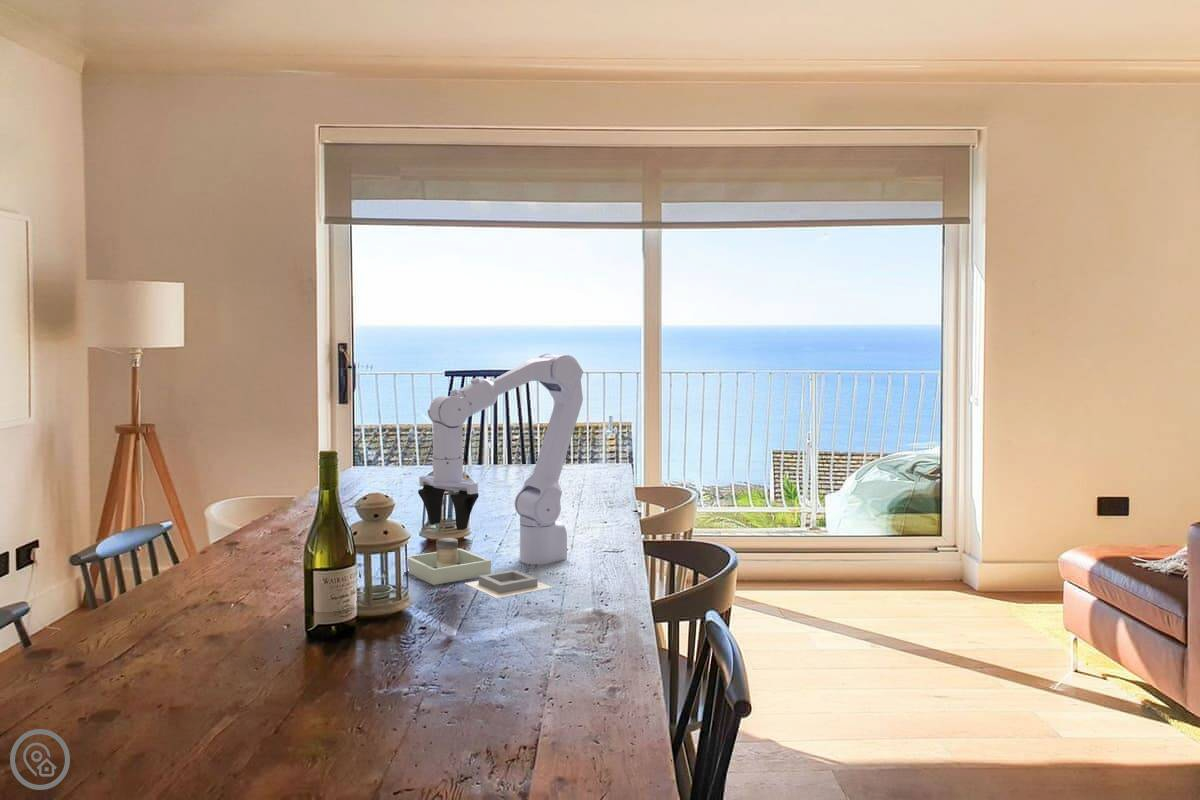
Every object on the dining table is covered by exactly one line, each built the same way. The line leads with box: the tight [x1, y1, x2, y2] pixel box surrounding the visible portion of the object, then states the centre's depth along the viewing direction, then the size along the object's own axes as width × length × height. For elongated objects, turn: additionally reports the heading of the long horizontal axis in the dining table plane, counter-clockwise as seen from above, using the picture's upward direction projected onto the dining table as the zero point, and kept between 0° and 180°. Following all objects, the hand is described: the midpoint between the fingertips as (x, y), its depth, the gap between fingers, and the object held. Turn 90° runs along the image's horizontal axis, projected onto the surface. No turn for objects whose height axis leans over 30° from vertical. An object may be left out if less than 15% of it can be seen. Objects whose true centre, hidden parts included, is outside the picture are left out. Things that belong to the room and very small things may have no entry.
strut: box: [435, 537, 459, 568], centre depth 183 cm, size 4×4×7 cm
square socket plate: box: [463, 569, 553, 599], centre depth 175 cm, size 12×12×3 cm
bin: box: [407, 548, 492, 586], centre depth 183 cm, size 12×12×4 cm
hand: (448, 526), depth 183 cm, fingers open, 7 cm apart
